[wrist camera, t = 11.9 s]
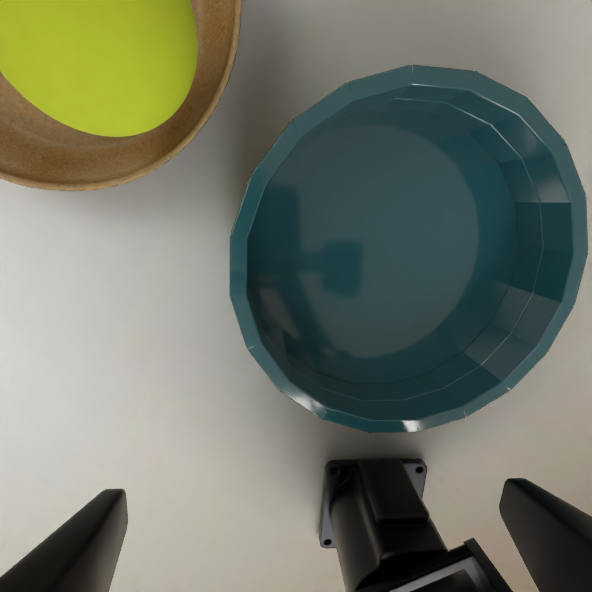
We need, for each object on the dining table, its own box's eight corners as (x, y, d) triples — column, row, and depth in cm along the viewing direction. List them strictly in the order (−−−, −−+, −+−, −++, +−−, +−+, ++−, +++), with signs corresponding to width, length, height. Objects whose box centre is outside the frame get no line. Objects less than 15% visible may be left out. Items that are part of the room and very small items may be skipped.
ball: (100, 51, 15) (206, 147, 15) (-67, 68, 11) (80, 200, 11) (112, -150, 11) (261, -11, 11) (-160, -245, 7) (86, -20, 7)
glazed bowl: (491, 389, 22) (542, 430, 18) (235, 388, 21) (228, 434, 16) (550, 111, 18) (632, 85, 14) (238, 83, 17) (230, 45, 12)
